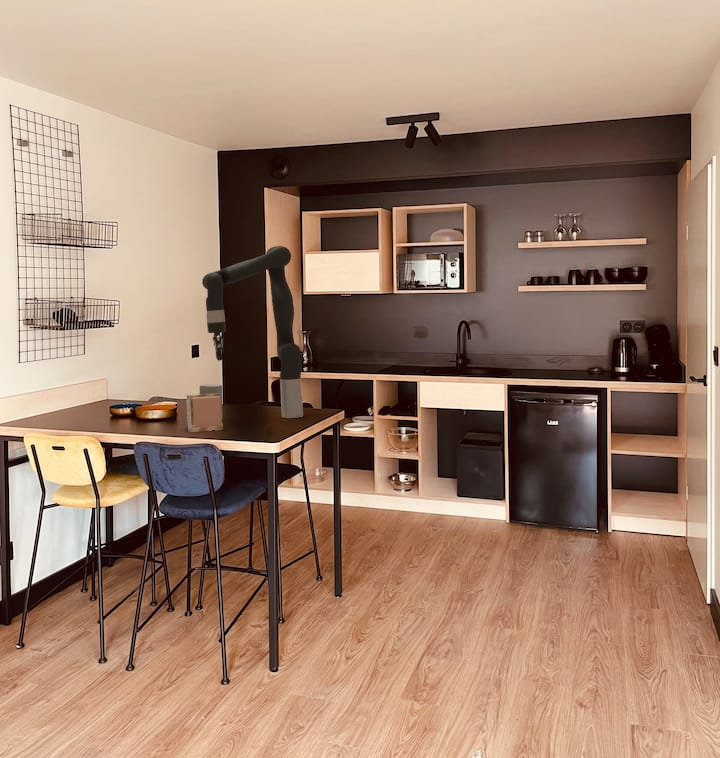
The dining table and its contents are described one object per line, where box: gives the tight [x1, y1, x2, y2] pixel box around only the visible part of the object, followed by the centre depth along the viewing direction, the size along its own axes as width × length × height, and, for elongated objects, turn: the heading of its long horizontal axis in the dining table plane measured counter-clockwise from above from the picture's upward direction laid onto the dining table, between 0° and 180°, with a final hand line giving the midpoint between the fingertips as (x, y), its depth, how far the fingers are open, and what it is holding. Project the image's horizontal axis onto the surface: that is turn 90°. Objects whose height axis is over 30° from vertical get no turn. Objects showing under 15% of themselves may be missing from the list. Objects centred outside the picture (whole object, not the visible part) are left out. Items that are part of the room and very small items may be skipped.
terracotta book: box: [193, 396, 223, 428], centre depth 307 cm, size 11×4×12 cm, turn 102°
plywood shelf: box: [186, 393, 224, 433], centre depth 310 cm, size 14×13×14 cm
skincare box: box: [199, 383, 223, 413], centre depth 330 cm, size 8×7×16 cm
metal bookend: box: [185, 397, 192, 430], centre depth 308 cm, size 2×12×11 cm, turn 12°
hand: (219, 359), depth 314 cm, fingers open, 8 cm apart
